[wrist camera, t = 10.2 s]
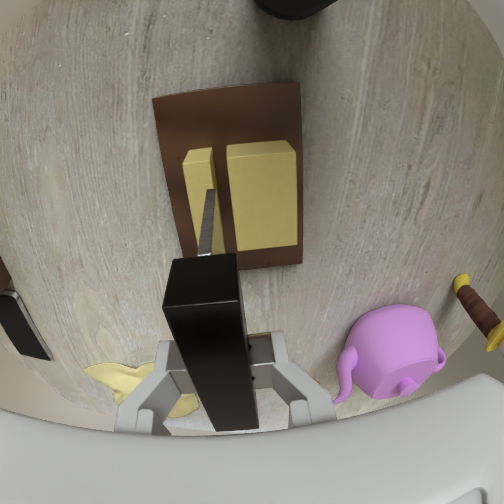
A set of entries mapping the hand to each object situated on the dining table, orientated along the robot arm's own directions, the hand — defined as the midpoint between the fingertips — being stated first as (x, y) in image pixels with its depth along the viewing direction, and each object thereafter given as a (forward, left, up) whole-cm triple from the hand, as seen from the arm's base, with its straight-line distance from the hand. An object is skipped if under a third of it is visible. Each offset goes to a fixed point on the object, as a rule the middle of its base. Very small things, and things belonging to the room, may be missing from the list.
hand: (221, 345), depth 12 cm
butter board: (0, +1, -18) cm, 18 cm away
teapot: (+24, +19, -19) cm, 36 cm away
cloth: (+34, -19, -19) cm, 43 cm away
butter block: (0, +3, -17) cm, 17 cm away
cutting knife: (0, 0, -6) cm, 6 cm away
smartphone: (+17, -36, -19) cm, 44 cm away
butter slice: (0, -1, -17) cm, 17 cm away
